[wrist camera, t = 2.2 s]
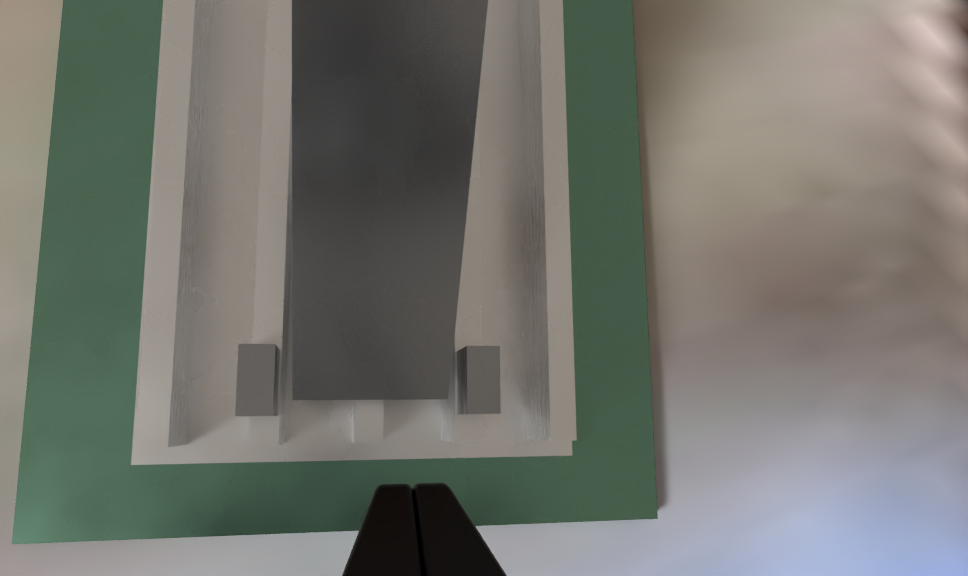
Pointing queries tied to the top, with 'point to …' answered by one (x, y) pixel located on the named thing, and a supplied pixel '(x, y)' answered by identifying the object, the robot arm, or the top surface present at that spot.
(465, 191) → the wood block
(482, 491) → the green railed baseplate
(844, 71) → the top surface
